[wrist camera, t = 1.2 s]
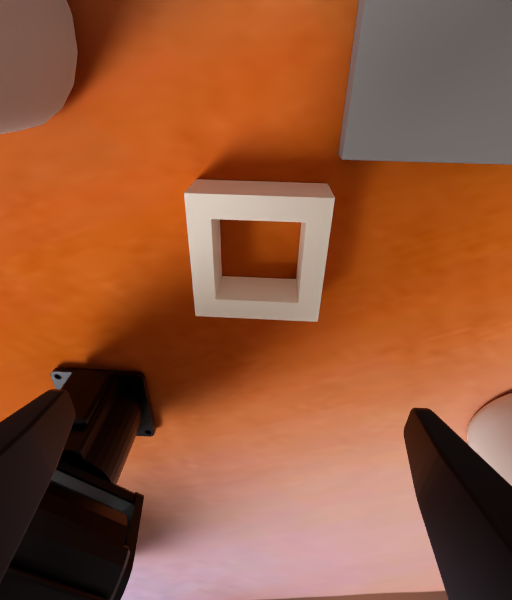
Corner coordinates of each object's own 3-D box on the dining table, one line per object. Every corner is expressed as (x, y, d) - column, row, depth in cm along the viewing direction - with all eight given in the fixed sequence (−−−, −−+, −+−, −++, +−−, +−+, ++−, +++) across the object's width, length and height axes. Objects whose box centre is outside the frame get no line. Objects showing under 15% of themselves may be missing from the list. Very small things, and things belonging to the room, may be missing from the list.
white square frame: (313, 296, 20) (317, 321, 18) (204, 291, 20) (195, 315, 18) (327, 183, 17) (335, 198, 14) (195, 179, 17) (184, 193, 15)
